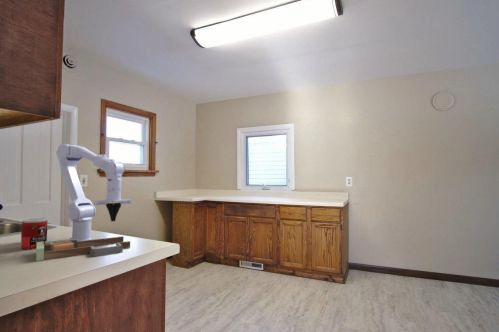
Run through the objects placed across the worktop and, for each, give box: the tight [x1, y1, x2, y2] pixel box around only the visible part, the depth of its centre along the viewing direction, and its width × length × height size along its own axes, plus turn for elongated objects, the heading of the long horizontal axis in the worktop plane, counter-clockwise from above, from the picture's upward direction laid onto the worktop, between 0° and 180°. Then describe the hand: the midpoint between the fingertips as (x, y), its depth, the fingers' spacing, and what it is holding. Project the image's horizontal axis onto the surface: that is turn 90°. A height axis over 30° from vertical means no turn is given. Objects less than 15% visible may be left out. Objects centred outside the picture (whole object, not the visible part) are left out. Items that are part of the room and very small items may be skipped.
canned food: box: [20, 217, 47, 251], centre depth 110 cm, size 8×8×11 cm
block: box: [51, 241, 74, 251], centre depth 101 cm, size 6×6×4 cm
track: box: [43, 236, 131, 261], centre depth 107 cm, size 12×28×2 cm, turn 128°
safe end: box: [35, 241, 45, 262], centre depth 98 cm, size 12×2×4 cm, turn 38°
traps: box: [48, 239, 124, 257], centre depth 107 cm, size 22×22×2 cm
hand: (113, 221), depth 119 cm, fingers closed
